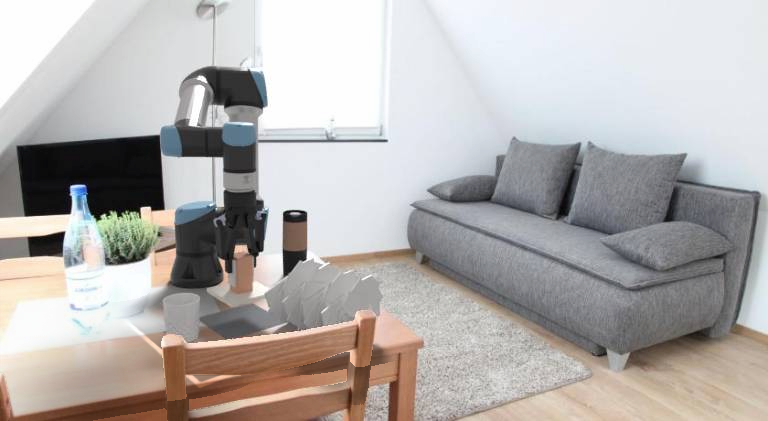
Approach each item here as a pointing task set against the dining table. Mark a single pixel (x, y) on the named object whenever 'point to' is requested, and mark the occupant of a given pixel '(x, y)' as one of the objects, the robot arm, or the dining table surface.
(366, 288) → the spiral staircase
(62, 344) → the dining table surface
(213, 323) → the mat
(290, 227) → the travel mug
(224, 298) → the lid
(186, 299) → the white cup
